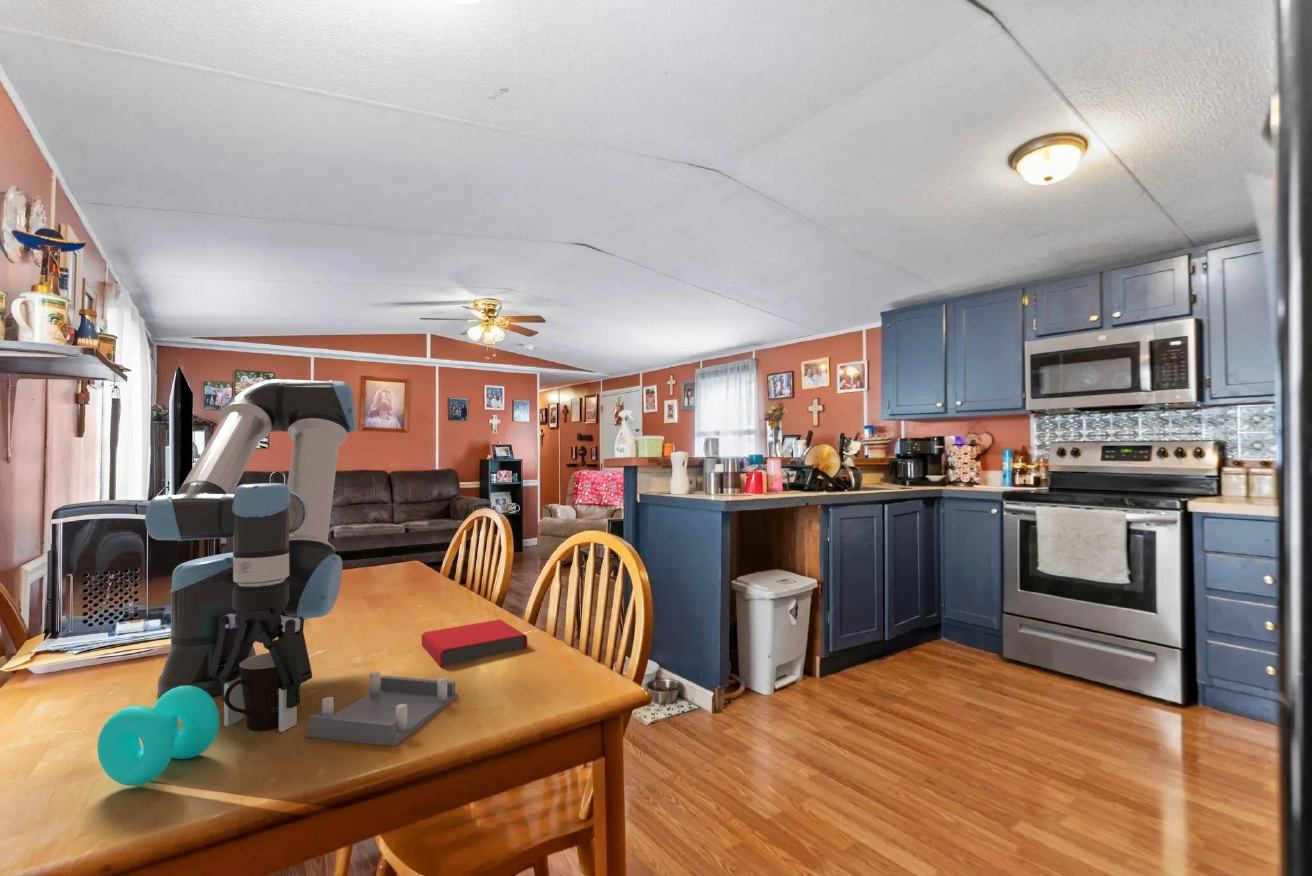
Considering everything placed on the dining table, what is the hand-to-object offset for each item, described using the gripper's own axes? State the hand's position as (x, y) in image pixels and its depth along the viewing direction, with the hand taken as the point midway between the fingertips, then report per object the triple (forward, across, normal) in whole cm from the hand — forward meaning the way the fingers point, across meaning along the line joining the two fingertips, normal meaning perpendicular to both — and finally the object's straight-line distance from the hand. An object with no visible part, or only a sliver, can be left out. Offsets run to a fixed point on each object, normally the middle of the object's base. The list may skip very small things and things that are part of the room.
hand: (260, 724), depth 97 cm
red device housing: (+1, +16, +37) cm, 41 cm away
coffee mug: (0, 0, 0) cm, 0 cm away
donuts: (0, -2, -14) cm, 14 cm away
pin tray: (0, +18, +7) cm, 19 cm away
